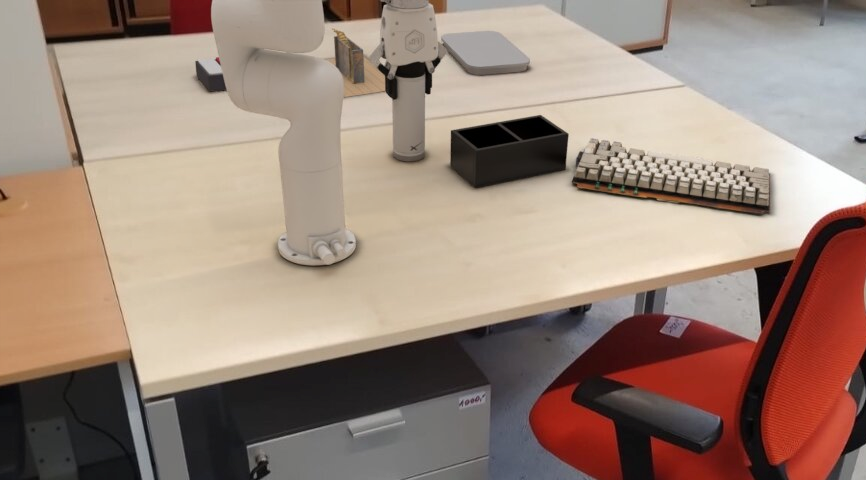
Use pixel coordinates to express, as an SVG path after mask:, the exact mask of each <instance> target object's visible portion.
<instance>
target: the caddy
mask: <svg viewBox="0 0 866 480" xmlns="http://www.w3.org/2000/svg"><path fill="white" fill-rule="evenodd" d="M568 143H569V133H568V132H567V131H566V130H564V129H562V128H561V127H559V126H558V125H556V124H555V123H554V122H553V121H551V120H549V119H548V118H546V117H545V116H543V115H542V114H538V115H532V116H531V115H530V116H525V117H520V118H514V119H509V120H502V121H496V122H491V123H485V124H480V125H474V126H473V125H472V126H468V127H461V128H456V129H450V152H449V153H450V154H449V155H450V157H449V158H450V159H449V160H450V163H449V165H450V166H449V167H450V168H451V169H452V170H454V172H456V173H457V174H458V175H459V176H460V177H462V178H463V179H464V180H465V181H466V182H467V183H468V184H469V185H471V186H472V187H473V188H474V189H478V188H482V187H483V188H484V187H488V186H493V185H498V184H503V183H508V182H513V181H517V180H523V179H528V178H533V177H537V176H541V175H547V174H552V173H556V172H561V171H566V168H567V157H568V146H569V145H568Z"/></svg>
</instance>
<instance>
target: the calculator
mask: <svg viewBox="0 0 866 480" xmlns="http://www.w3.org/2000/svg"><path fill="white" fill-rule="evenodd" d="M194 63H195V73H196V77H197V78H198V80H199V81H200V82H201V83H202V85H204V87H205V88H206V89H207V91H209V92H218V91H219V92H220V91H227V89H226V85H225V81H224V77H223V73H222V68H221V64H220V60H219V56H217V57H215V58H202V59H197V60H195V61H194Z"/></svg>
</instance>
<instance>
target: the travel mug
mask: <svg viewBox="0 0 866 480" xmlns="http://www.w3.org/2000/svg"><path fill="white" fill-rule="evenodd" d="M394 78H395V79H396V80H397V99H396V100H393V99H392V98H391V101H392V102H391V103H392V104H391V105H392V106H391V107H392V108H391V110H392V155H393V157H394V158H395V159H397V160H399V161H402V162H416V161H420V160H423V159H424V158H425V156H426V93H425V62H423V63H422V62H420V61H418V62H413V63H410V64H407V65H401V66H398V67H397V70H396V72H395V75H394Z"/></svg>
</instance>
